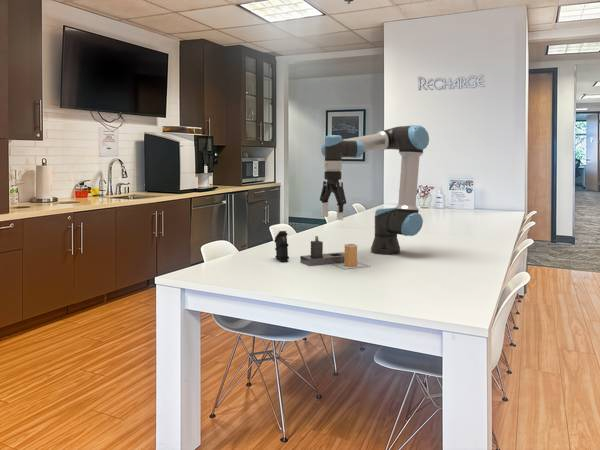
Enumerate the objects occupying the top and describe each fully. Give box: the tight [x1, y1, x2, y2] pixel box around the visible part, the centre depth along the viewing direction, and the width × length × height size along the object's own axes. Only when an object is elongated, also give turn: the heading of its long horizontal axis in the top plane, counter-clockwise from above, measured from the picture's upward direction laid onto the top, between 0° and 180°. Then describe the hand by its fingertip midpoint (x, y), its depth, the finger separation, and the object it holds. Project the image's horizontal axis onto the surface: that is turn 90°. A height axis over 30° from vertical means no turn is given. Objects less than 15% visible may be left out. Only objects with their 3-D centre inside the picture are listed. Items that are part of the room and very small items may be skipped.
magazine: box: [273, 230, 290, 263], centre depth 243 cm, size 4×13×15 cm, turn 16°
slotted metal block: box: [299, 252, 345, 267], centre depth 239 cm, size 22×9×4 cm, turn 117°
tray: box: [329, 261, 372, 271], centre depth 231 cm, size 14×12×1 cm
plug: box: [343, 243, 358, 268], centre depth 231 cm, size 4×4×10 cm
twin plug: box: [310, 235, 324, 258], centre depth 236 cm, size 4×4×12 cm
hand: (332, 218), depth 232 cm, fingers open, 13 cm apart
